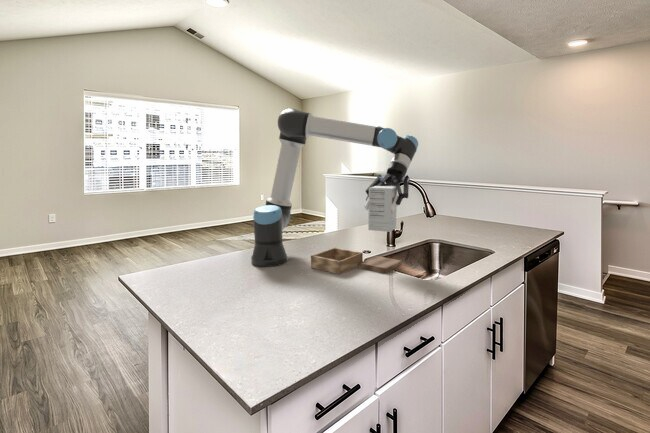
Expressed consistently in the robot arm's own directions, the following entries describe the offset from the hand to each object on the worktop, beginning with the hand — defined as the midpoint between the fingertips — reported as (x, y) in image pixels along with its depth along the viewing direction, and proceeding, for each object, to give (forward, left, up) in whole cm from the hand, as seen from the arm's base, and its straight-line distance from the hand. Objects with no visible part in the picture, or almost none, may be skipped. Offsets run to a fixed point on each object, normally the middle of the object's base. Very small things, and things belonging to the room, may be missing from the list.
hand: (378, 209), depth 148 cm
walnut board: (0, +3, -24) cm, 24 cm away
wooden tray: (-15, -7, -24) cm, 29 cm away
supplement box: (0, +3, -8) cm, 9 cm away
